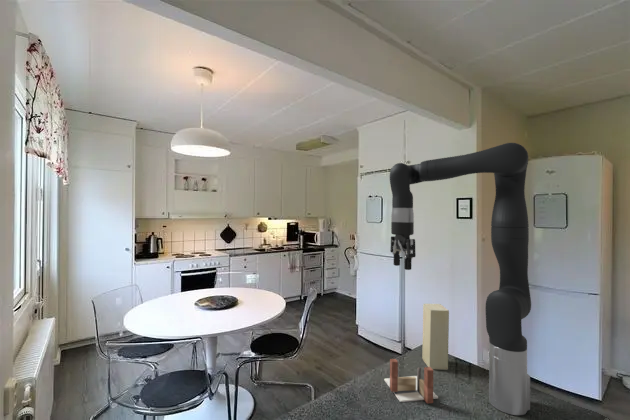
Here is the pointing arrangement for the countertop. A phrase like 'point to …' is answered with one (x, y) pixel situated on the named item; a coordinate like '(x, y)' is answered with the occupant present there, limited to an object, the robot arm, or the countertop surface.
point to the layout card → (408, 393)
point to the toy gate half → (400, 379)
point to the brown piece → (425, 384)
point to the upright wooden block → (435, 336)
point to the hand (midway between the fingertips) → (402, 267)
